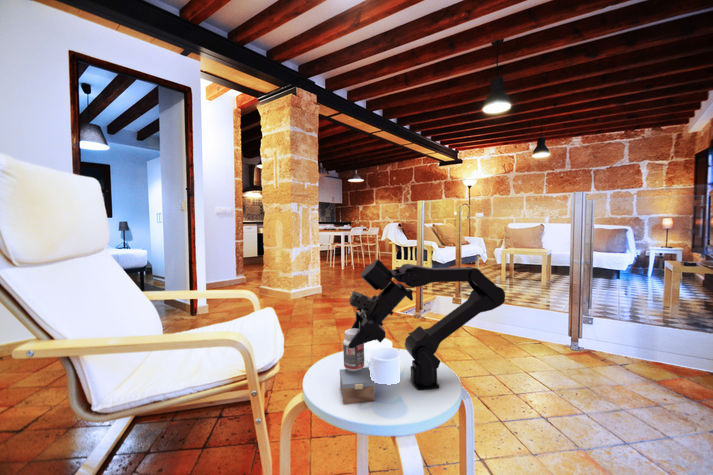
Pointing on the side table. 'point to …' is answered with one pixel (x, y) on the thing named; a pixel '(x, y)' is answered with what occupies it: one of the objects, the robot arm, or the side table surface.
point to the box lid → (356, 378)
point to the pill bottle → (352, 352)
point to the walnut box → (357, 394)
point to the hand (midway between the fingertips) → (348, 342)
